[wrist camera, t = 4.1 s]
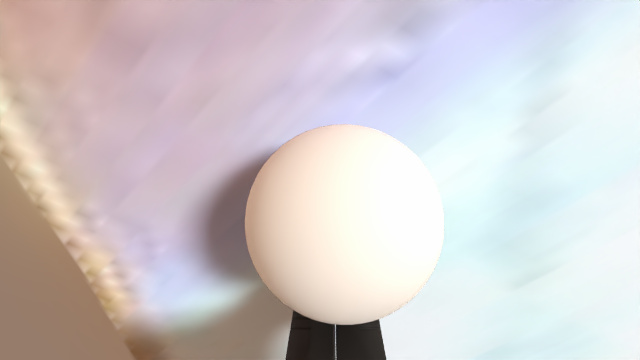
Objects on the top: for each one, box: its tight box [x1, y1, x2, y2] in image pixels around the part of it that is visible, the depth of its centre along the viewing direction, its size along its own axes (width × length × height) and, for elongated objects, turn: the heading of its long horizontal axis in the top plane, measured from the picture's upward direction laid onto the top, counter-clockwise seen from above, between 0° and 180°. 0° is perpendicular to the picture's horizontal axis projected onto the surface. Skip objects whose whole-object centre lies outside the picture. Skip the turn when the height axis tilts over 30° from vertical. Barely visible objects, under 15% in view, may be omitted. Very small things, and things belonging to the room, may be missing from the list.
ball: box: [245, 124, 444, 325], centre depth 9 cm, size 6×6×6 cm
